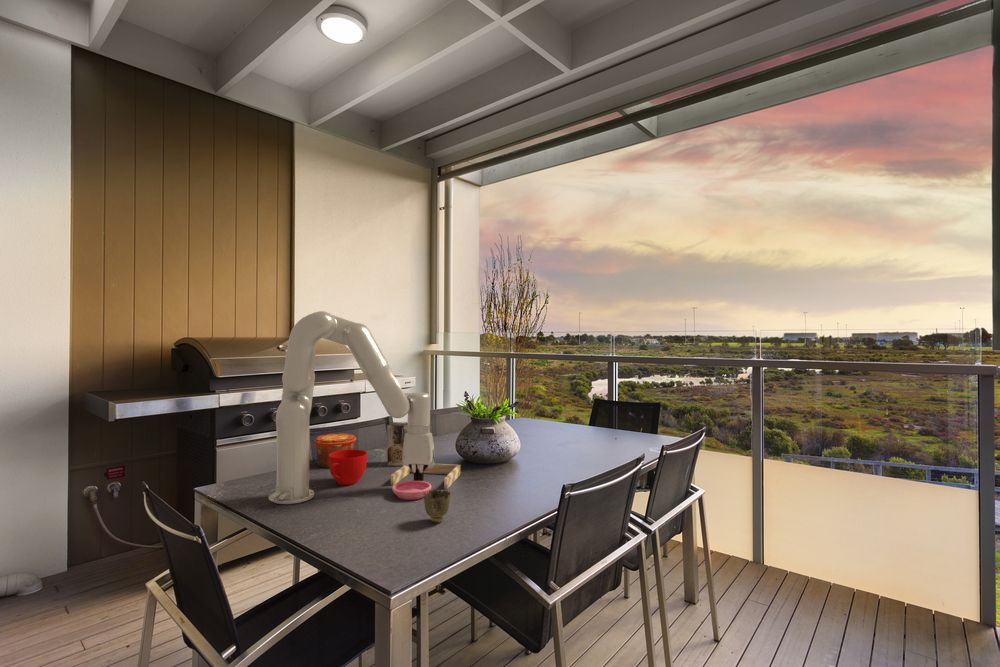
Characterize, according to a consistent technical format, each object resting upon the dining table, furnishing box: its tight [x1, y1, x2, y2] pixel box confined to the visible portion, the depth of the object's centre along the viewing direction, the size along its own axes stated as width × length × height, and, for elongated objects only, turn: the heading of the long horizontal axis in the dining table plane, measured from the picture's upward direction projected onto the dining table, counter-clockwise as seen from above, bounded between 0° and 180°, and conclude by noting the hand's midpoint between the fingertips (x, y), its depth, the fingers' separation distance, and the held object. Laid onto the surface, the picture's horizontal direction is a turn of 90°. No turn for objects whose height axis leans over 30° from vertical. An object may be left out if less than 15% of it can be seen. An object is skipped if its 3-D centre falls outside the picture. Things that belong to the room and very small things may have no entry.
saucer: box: [391, 480, 432, 501], centre depth 164 cm, size 12×12×3 cm
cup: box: [423, 488, 451, 524], centre depth 142 cm, size 8×7×8 cm
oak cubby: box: [390, 462, 461, 490], centre depth 181 cm, size 18×20×4 cm
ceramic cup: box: [329, 449, 368, 486], centre depth 176 cm, size 13×17×10 cm
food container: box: [313, 433, 357, 469], centre depth 201 cm, size 16×16×11 cm
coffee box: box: [386, 421, 408, 467], centre depth 203 cm, size 9×6×16 cm
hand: (418, 483), depth 172 cm, fingers closed
